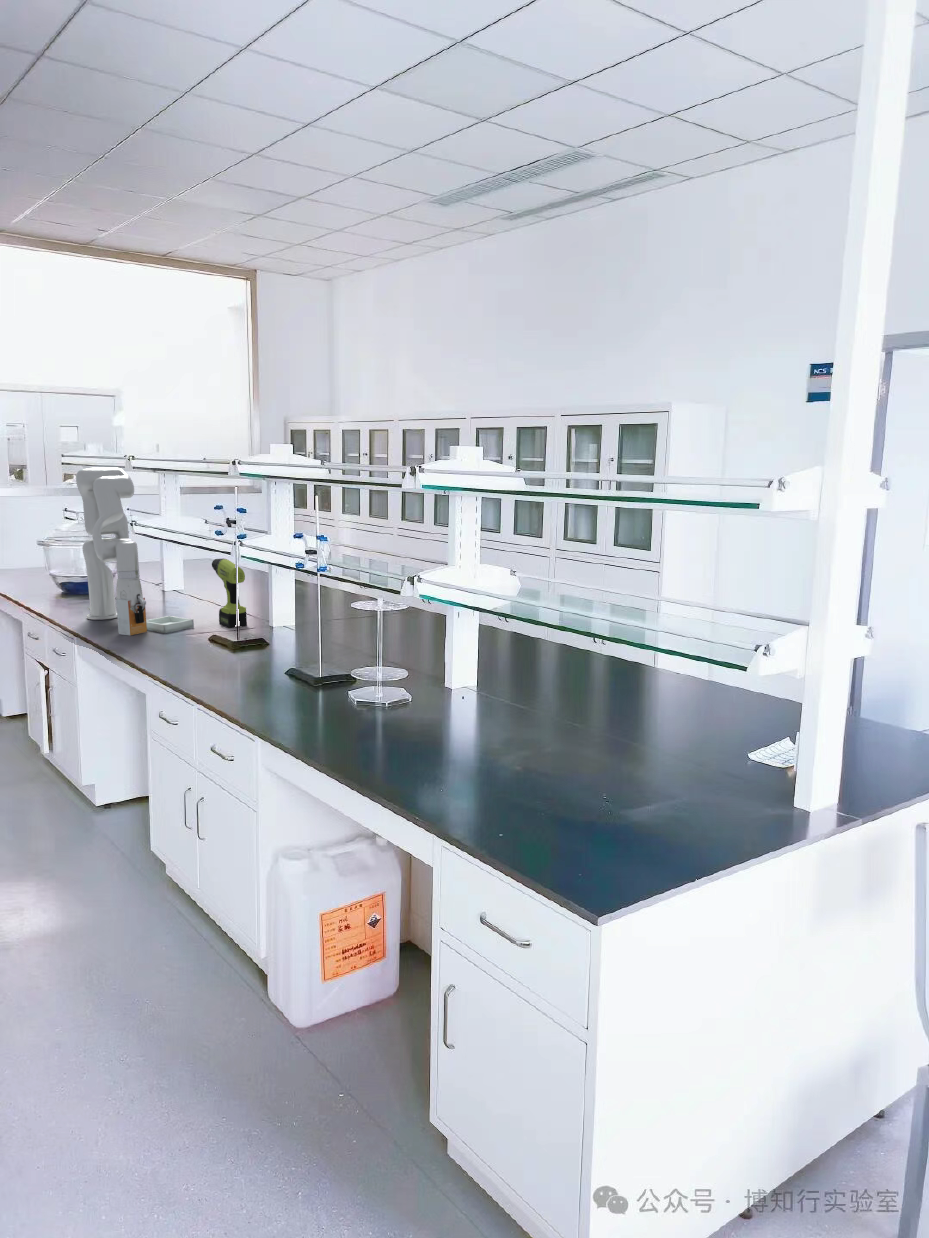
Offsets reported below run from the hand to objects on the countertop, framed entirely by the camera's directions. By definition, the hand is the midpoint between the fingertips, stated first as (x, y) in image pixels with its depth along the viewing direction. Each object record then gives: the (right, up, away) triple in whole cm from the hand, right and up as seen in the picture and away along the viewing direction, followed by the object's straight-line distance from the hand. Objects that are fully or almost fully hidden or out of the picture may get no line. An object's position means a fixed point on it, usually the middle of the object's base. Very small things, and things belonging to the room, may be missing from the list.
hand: (132, 621), depth 335 cm
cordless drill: (+31, -1, +18) cm, 36 cm away
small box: (0, -4, +1) cm, 5 cm away
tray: (+10, -2, +9) cm, 14 cm away
